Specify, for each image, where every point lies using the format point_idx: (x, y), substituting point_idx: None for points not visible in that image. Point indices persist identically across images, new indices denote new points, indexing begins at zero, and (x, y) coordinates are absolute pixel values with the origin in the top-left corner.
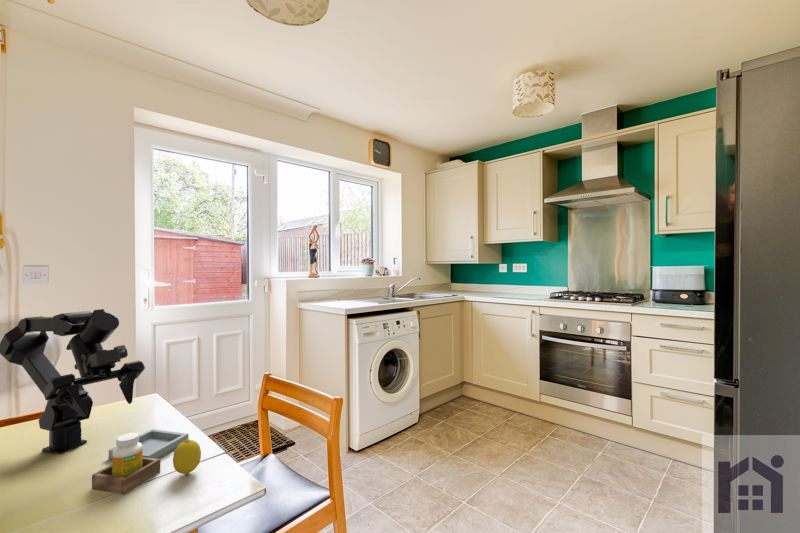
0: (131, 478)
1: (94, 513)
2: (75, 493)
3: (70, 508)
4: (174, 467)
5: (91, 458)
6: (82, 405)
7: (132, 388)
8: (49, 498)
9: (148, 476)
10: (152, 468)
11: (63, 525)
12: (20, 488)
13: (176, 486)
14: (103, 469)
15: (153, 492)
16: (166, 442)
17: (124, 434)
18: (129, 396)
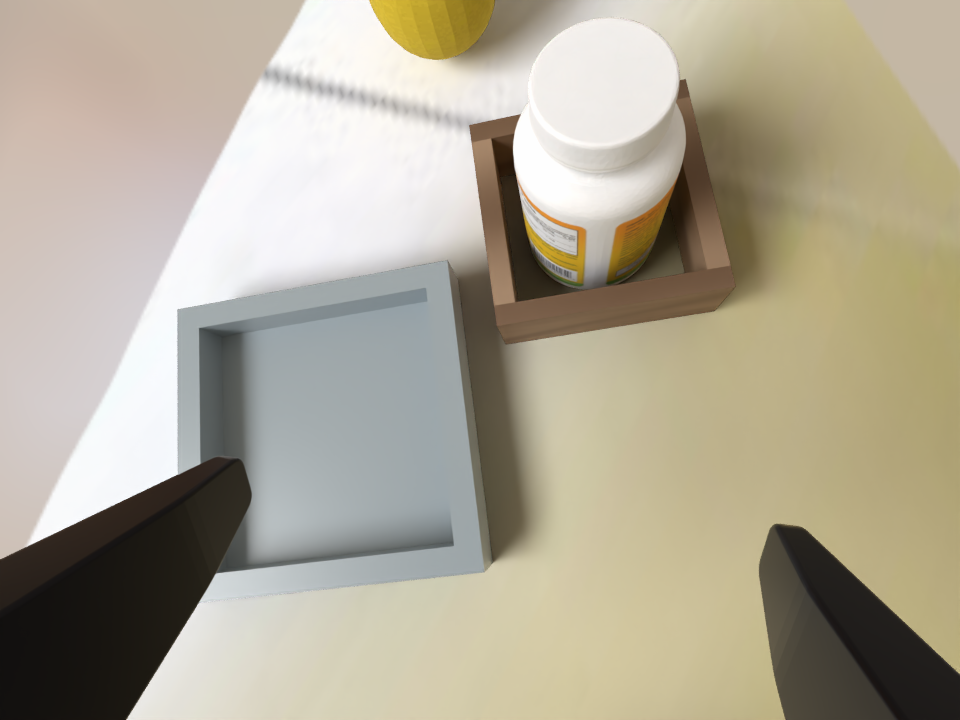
0: None
1: (810, 101)
2: (773, 345)
3: (848, 230)
4: (491, 10)
5: (526, 684)
6: (882, 646)
7: (11, 556)
8: (864, 420)
9: None
10: None
11: (921, 125)
12: None
13: (532, 4)
14: (670, 291)
15: None
16: (259, 404)
17: (590, 137)
18: (180, 499)
